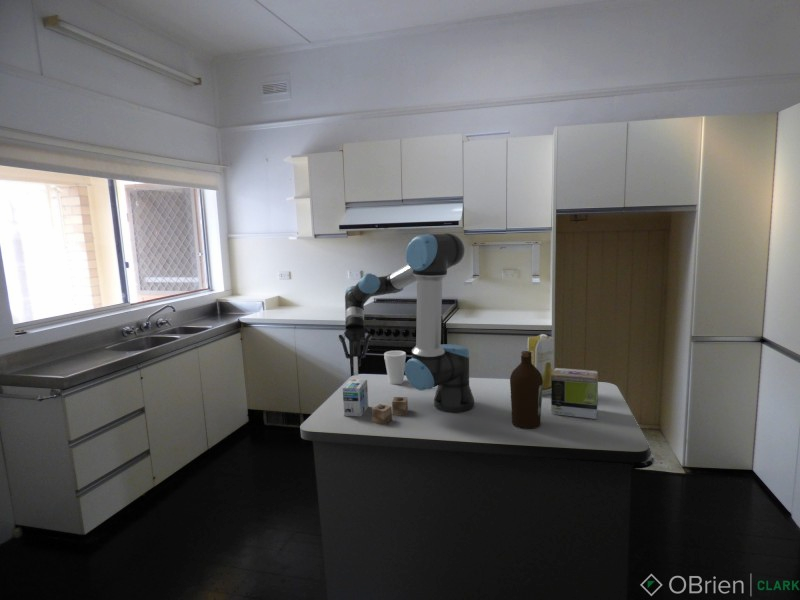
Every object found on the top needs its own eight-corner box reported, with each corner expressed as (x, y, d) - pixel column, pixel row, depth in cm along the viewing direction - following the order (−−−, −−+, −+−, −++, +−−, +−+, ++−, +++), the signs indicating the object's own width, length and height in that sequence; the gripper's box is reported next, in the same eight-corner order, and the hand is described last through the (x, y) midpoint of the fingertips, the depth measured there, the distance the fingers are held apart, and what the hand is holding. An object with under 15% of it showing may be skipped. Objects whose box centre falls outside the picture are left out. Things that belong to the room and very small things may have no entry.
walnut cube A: (407, 409, 180) (407, 396, 179) (406, 415, 175) (405, 401, 174) (394, 409, 180) (394, 396, 179) (392, 414, 175) (392, 401, 175)
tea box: (597, 409, 173) (598, 370, 171) (596, 420, 164) (597, 378, 162) (554, 404, 179) (554, 366, 177) (550, 414, 170) (551, 374, 168)
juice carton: (539, 398, 187) (539, 337, 183) (524, 392, 193) (524, 334, 190) (556, 393, 191) (556, 334, 188) (541, 387, 198) (541, 330, 194)
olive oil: (510, 429, 159) (509, 355, 156) (510, 416, 170) (510, 347, 166) (543, 431, 157) (544, 356, 153) (541, 418, 167) (542, 348, 164)
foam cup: (387, 378, 217) (386, 350, 215) (407, 378, 216) (406, 350, 214) (383, 385, 208) (382, 356, 206) (405, 385, 207) (404, 356, 205)
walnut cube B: (391, 419, 171) (391, 405, 170) (384, 424, 167) (383, 410, 166) (380, 417, 174) (379, 403, 173) (372, 422, 169) (371, 408, 169)
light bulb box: (361, 417, 174) (359, 388, 173) (343, 416, 176) (341, 387, 174) (368, 406, 185) (367, 379, 183) (352, 405, 186) (350, 378, 184)
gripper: (371, 325, 196) (373, 377, 182) (339, 326, 195) (338, 379, 181) (370, 314, 190) (373, 368, 176) (337, 316, 189) (337, 369, 175)
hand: (355, 373), depth 179 cm, fingers closed
